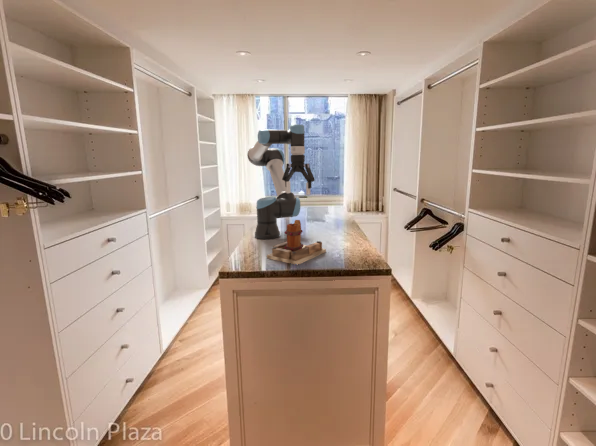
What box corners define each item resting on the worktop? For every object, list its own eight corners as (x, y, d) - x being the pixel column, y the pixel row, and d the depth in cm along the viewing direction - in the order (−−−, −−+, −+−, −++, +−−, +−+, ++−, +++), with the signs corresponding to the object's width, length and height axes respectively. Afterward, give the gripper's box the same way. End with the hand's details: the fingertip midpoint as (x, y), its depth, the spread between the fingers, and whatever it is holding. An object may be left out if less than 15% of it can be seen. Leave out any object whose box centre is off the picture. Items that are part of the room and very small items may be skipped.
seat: (267, 258, 154) (266, 247, 152) (296, 246, 172) (296, 236, 171) (297, 265, 143) (297, 253, 142) (325, 251, 162) (325, 241, 161)
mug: (299, 256, 150) (299, 225, 147) (282, 255, 152) (282, 224, 149) (307, 248, 164) (307, 219, 161) (292, 247, 166) (291, 218, 163)
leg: (318, 248, 163) (318, 240, 162) (323, 249, 161) (323, 241, 161) (304, 253, 155) (304, 245, 154) (309, 254, 153) (309, 246, 152)
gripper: (275, 154, 178) (276, 193, 183) (313, 154, 164) (313, 195, 168) (283, 154, 184) (284, 191, 189) (321, 154, 170) (321, 194, 174)
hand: (298, 193), depth 178 cm, fingers open, 13 cm apart
